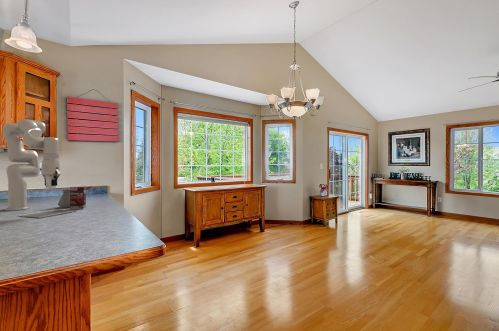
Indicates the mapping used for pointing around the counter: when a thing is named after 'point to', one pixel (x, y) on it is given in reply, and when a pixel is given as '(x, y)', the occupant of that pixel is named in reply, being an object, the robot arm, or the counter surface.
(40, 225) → the counter surface
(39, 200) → the counter surface
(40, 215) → the throwing mat
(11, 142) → the robot arm
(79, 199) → the supplement box
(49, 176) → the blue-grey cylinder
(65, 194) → the coffee pot
